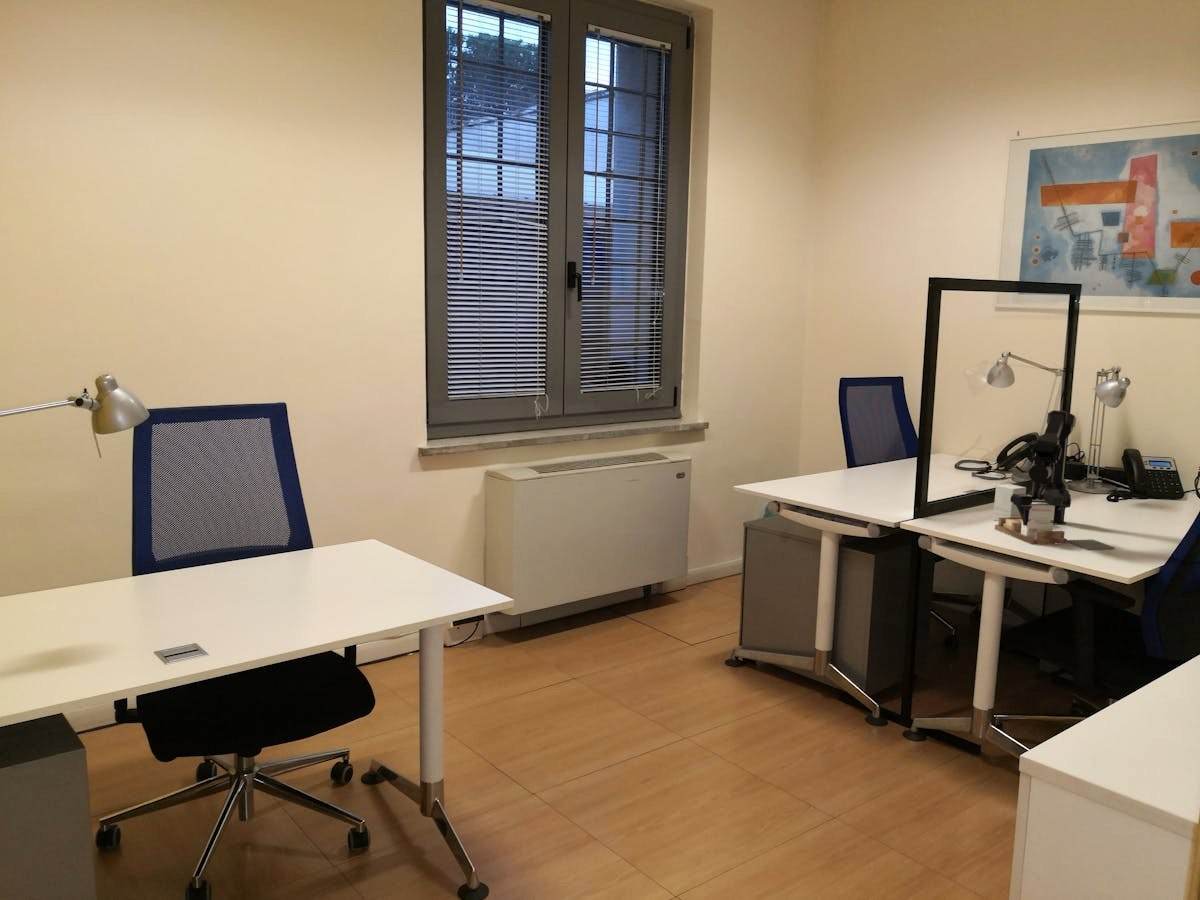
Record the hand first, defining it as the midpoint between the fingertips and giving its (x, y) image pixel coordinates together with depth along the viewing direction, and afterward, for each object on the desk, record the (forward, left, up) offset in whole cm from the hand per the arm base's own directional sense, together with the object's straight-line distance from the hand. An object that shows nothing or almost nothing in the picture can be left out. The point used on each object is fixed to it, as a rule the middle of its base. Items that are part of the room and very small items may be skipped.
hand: (1037, 525), depth 319 cm
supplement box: (-6, -24, -5) cm, 25 cm away
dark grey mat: (-13, +9, -5) cm, 17 cm away
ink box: (0, -1, -5) cm, 5 cm away
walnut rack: (0, -4, -5) cm, 6 cm away
